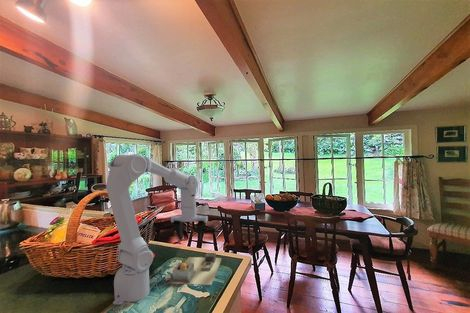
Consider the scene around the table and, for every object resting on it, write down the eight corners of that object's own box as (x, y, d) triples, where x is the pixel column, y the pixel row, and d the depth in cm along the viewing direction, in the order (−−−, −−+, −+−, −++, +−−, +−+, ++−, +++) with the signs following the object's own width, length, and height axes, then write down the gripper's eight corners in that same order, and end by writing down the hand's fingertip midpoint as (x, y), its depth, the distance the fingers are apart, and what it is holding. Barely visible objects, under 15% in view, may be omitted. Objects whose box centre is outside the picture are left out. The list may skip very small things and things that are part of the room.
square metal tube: (172, 279, 74) (172, 271, 74) (179, 270, 80) (178, 262, 80) (188, 280, 73) (188, 271, 73) (194, 271, 79) (193, 263, 79)
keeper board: (170, 286, 73) (169, 276, 73) (188, 259, 91) (188, 251, 91) (211, 287, 71) (211, 277, 71) (222, 260, 89) (221, 252, 89)
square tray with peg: (171, 281, 74) (170, 267, 74) (178, 271, 80) (177, 258, 80) (189, 282, 73) (188, 268, 73) (195, 271, 79) (194, 259, 79)
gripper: (209, 203, 90) (210, 235, 90) (175, 203, 92) (176, 235, 92) (204, 207, 83) (206, 243, 83) (167, 207, 85) (169, 242, 85)
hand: (190, 239), depth 87 cm, fingers open, 7 cm apart
